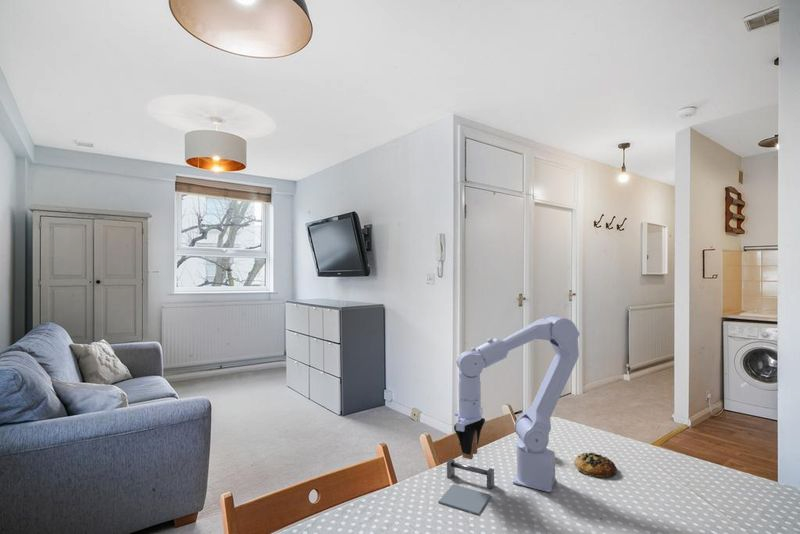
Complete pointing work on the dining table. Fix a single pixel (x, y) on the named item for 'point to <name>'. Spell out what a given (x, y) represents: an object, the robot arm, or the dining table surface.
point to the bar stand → (490, 473)
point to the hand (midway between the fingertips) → (470, 449)
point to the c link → (474, 448)
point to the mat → (465, 499)
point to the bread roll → (595, 465)
